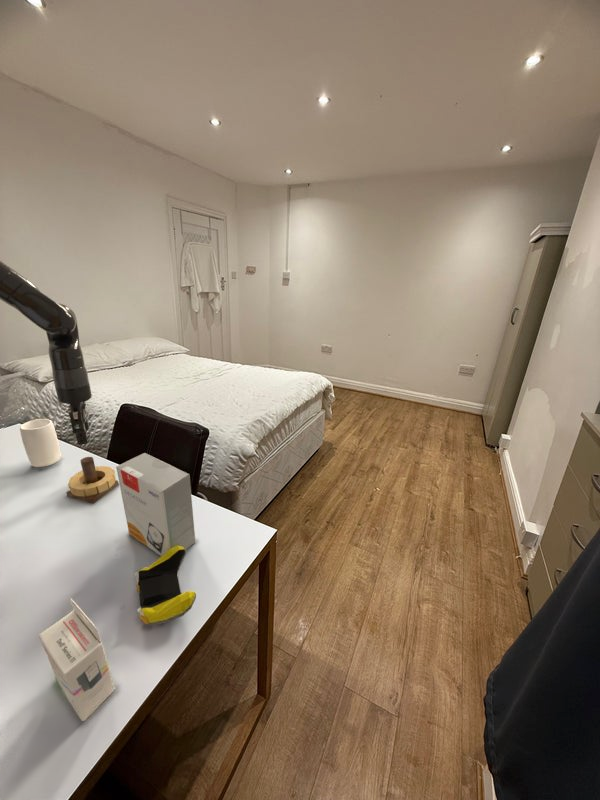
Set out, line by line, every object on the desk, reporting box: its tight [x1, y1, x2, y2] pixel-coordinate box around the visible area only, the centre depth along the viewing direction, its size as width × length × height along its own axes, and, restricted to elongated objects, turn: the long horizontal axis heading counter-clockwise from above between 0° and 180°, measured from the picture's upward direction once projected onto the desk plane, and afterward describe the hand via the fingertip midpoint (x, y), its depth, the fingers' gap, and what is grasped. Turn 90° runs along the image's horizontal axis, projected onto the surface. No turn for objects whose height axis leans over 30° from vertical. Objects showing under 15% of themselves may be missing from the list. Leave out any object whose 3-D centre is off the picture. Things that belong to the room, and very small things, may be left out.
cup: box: [19, 418, 62, 468], centre depth 101 cm, size 8×8×14 cm
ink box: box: [38, 597, 115, 722], centre depth 47 cm, size 9×5×15 cm, turn 56°
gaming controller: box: [134, 545, 197, 626], centre depth 64 cm, size 15×6×10 cm
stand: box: [65, 456, 120, 504], centre depth 91 cm, size 9×9×10 cm
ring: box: [67, 465, 117, 497], centre depth 93 cm, size 12×12×2 cm
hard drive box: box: [115, 452, 196, 557], centre depth 74 cm, size 16×8×20 cm, turn 60°
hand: (83, 437), depth 91 cm, fingers open, 8 cm apart
